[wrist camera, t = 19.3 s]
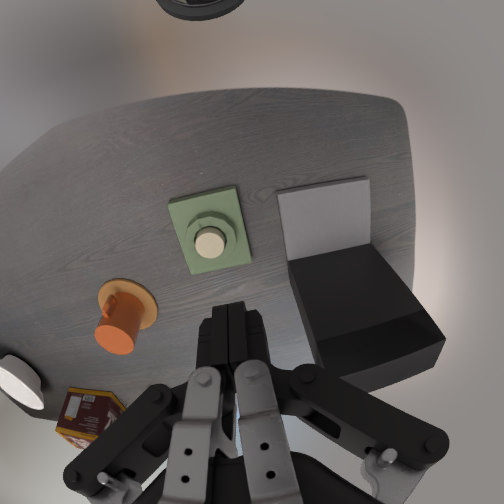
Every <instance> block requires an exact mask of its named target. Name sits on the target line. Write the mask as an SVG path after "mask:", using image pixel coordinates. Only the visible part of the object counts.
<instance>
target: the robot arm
mask: <svg viewBox="0 0 504 504" xmlns="http://www.w3.org/2000/svg"><path fill="white" fill-rule="evenodd" d="M171 1H172V2H174V3H175V4H178V5H181V6H184V7H194V8H197V7H206V6H211V5H214V4H217V3H219V2H222V1H224V0H171ZM235 393H237V399H238V406H239V413H240V418H239V419H238V424H239V432H240V437H241V444H242V451H243V455H242V456H239V457H238V452H237V448H236V443H235V442H236V440H235V439H236V438H235V437H236V412H237V407H236V404H235ZM281 414H282V415H292V416H297V417H298V418H299V419H300V420H302V421H303V422H304V423H306V424H307V425H309V426H310V427H312V428H313V429H315V430H316V431H318V432H319V433H321V434H322V435H324V436H325V437H327V438H328V439H330V440H332V441H333V442H335V443H337V444H338V445H339V446H341V447H343V448H344V449H346V450H348V451H350V452H351V453H353V454H354V455H356V456H358V457H360V458H361V459H363V460H364V461H363V462H362V464H361V469H360V470H361V475H362V477H363V478H364V479H365V480H366V481H367V482H369V483H370V485H371V487H372V496H371V495H369V494H367V493H366V492H364V491H362V490H361V489H359V488H358V487H356V486H354V485H353V484H351V483H350V482H348V481H347V480H345V479H344V478H342V477H340V476H339V475H338V474H336V473H335V472H333V471H332V470H330V469H329V468H328V467H326V466H325V465H323V464H322V463H321V462H319V461H317V460H316V459H314V458H313V457H310V456H308V455H306V454H302V453H299V452H293V451H290V448H289V444H288V440H287V437H286V433H285V429H284V425H283V421H282V418H281ZM448 449H449V438H448V435H447V434H446V433H445V432H444V431H443V430H442V429H440V428H437V427H435V426H433V425H431V424H429V423H426V422H424V421H422V420H420V419H418V418H416V417H414V416H412V415H409V414H407V413H405V412H403V411H401V410H399V409H397V408H395V407H393V406H391V405H389V404H387V403H385V402H384V401H382V400H380V399H378V398H376V397H374V396H372V395H370V394H368V393H366V392H364V391H363V390H361V389H359V388H357V387H355V386H353V385H352V384H350V383H348V382H346V381H344V380H342V379H341V378H339V377H337V376H335V375H334V374H332V373H330V372H328V371H327V370H325V369H323V368H321V367H320V366H318V365H315V364H303V365H300V366H298V367H296V368H295V369H294V370H282V369H278V368H276V367H274V366H273V365H272V364H271V361H270V355H269V349H268V342H267V336H266V332H265V328H264V324H263V320H262V316H261V315H260V313H259V312H258V311H257V310H250V311H247V310H246V307H245V303H244V301H240V302H235V303H230V304H225V305H219V306H213V308H212V318H206V319H204V320H203V322H202V323H201V325H200V327H199V337H198V348H197V360H196V370H195V371H193V372H192V373H191V375H190V376H189V379H188V381H187V382H186V383H184V384H182V385H179V386H176V387H174V388H171V389H170V388H169V387H168V386H166V385H164V384H155V385H152V386H150V387H149V388H148V389H146V390H145V391H144V392H143V393H142V394H141V395H140V396H139V397H138V398H137V399H136V400H135V401H134V402H133V403H132V404H131V405H130V406H129V407H128V408H127V409H126V410H125V411H124V412H123V413H122V414H121V415H120V416H119V417H118V418H117V419H116V420H115V421H114V422H113V423H112V424H111V425H110V426H109V427H108V428H106V429H105V430H104V431H103V432H102V433H101V434H100V435H99V436H98V437H97V438H96V439H95V440H94V441H93V442H92V443H91V444H90V445H89V446H88V447H87V448H85V449H84V450H83V451H82V452H81V453H80V454H79V455H78V456H77V457H76V458H75V459H74V460H73V461H72V462H70V463H69V464H68V465H67V466H66V468H65V469H64V472H63V480H64V482H65V484H66V486H67V487H68V488H69V489H71V490H73V491H75V492H77V493H80V494H82V495H83V496H85V497H87V499H88V500H89V501H90V502H91V503H92V504H404V502H405V501H406V500H407V498H408V497H409V496H410V494H411V493H412V491H413V490H414V488H415V487H416V486H417V484H418V483H419V481H420V480H421V478H422V476H423V475H424V474H425V472H426V471H427V469H428V468H430V467H431V466H432V465H434V464H435V463H437V462H438V461H439V460H441V459H442V458H443V457H444V456H445V455H446V453H447V451H448ZM167 458H168V461H167V468H165V469H164V470H163V471H162V472H161V473H160V474H159V475H158V476H157V478H155V480H154V481H153V482H152V483H151V484H150V485H149V486H148V487H147V488H146V489H145V490H144V491H142V487H141V485H142V483H144V482H145V481H146V480H147V479H148V478H149V477H150V476H151V475H152V474H153V473H154V472H155V471H156V470H157V469H158V468H159V466H160V465H161V464H162V463H163V462H164V461H165V460H166V459H167Z"/></svg>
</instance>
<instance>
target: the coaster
mask: <svg viewBox="0 0 504 504" xmlns="http://www.w3.org/2000/svg"><path fill="white" fill-rule="evenodd" d="M118 292H126V293H130V294H132V295H134V296H135V297H137V298H138V299H139V300H140V301H141V302H142V304H143V306H144V309H145V313H144V317H143V320H142V323H141V326H140V329H139V330H141V329H145V328H147V327H149V326H151V325H152V324H153V323H154V322H155V320H156V318H157V314H158V307H157V303H156V301H155V299H154V297H153V296H152V294H151V293H150V292H149V291H148V290H147V289H146V288H144V287H143V286H142V285H140V284H138V283H136V282H134V281H131V280H127V279H113V280H110V281H108V282H106V283H105V284H104V285H103V286H102V288H101V289H100V291H99V295H98V301H99V305H100V308H101V310H102V308H103V306H104V304H105V302H106V300H107V298H108V296H109V295H110V294H113V295H114V294H115V293H118Z"/></svg>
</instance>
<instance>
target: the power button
mask: <svg viewBox="0 0 504 504" xmlns="http://www.w3.org/2000/svg"><path fill="white" fill-rule="evenodd" d="M224 242H225V239H224V235H223V233H222V232H221V231H220V230H219V229H217V228H214V227H206V228H204V229H202V230H201V231H200V232H199V233H198V235H197V238H196V242H195V248H196V250H197V252H198V253H199V254H200V255H201V256H202V257H205V258H216V257H218V256H219V255H220V254H221V253H222V252H223V250H224Z"/></svg>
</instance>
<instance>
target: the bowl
mask: <svg viewBox="0 0 504 504" xmlns="http://www.w3.org/2000/svg"><path fill="white" fill-rule="evenodd" d="M40 386H41V380H40V378H39V376H38V375H37V374H36V372H35V371H34V370H33V369H32V368H31V367H30V366H28V365H27V364H26V363H25V362H23V361H22V360H20V359H19V358H17V357H15V356H13V355H6V356H5V357H4V358H3V359H2V360H0V387H1V388H2V389H3V390H4V391H5V392H7V393H8V394H9V395H10V396H12V397H13V398H14V399H16V400H17V401H19V402H21V403H22V404H24V405H26V406H28V407H31V408H33V409H38V410H41V409H43V408H44V402H43V394H42V392H41V391H40Z"/></svg>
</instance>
